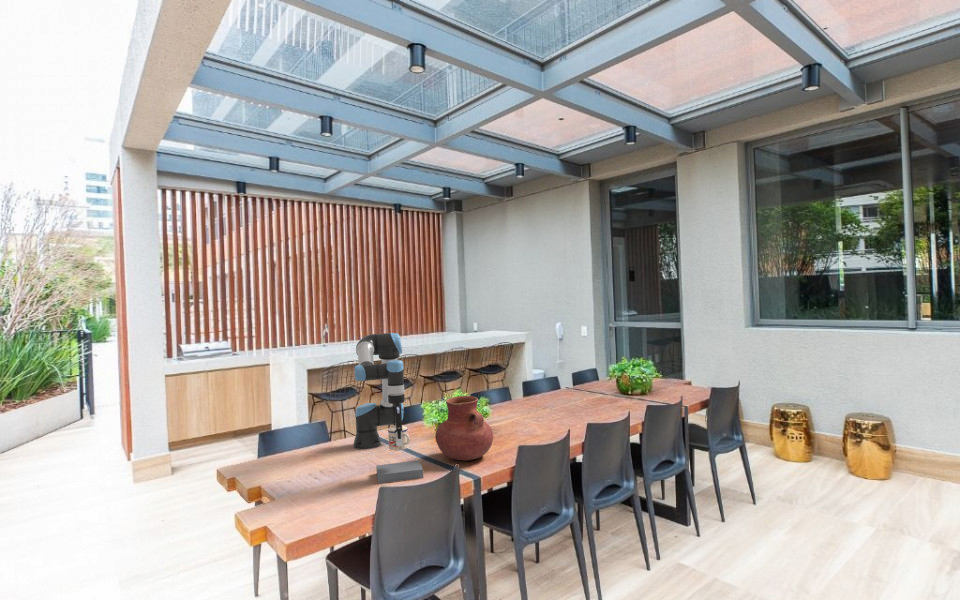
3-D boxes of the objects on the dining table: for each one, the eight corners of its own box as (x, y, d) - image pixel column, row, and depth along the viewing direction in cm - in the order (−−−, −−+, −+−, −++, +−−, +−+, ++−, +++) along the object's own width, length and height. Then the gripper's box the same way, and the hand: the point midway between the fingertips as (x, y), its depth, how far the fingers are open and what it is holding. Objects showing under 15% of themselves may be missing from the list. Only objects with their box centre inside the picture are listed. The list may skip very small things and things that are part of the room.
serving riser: (376, 473, 236) (376, 465, 236) (419, 468, 241) (418, 460, 241) (378, 484, 222) (378, 475, 222) (423, 478, 227) (423, 469, 227)
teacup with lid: (384, 449, 231) (383, 423, 231) (399, 444, 238) (398, 419, 238) (402, 453, 223) (401, 426, 223) (416, 448, 230) (415, 422, 230)
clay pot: (425, 458, 257) (422, 399, 257) (469, 445, 276) (466, 391, 276) (461, 471, 234) (458, 407, 235) (506, 456, 254) (503, 397, 254)
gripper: (386, 391, 241) (388, 437, 241) (390, 398, 220) (392, 450, 220) (401, 389, 243) (403, 436, 243) (407, 397, 222) (409, 448, 222)
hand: (398, 442), depth 231 cm, fingers closed on teacup with lid, 9 cm apart
